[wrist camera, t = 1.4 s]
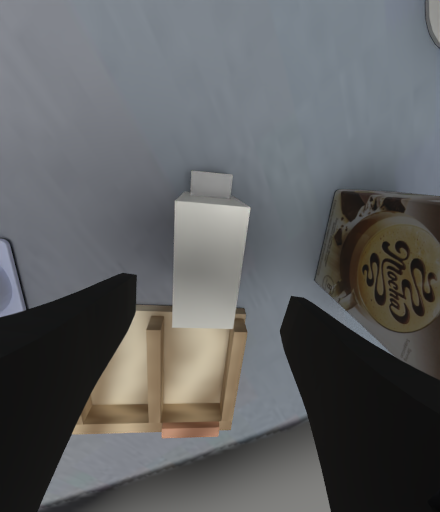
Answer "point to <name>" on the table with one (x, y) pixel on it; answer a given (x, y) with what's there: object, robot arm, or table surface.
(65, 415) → the robot arm
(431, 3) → the wineglass
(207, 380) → the slot rack
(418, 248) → the coffee box
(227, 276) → the plug block
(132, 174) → the table surface
